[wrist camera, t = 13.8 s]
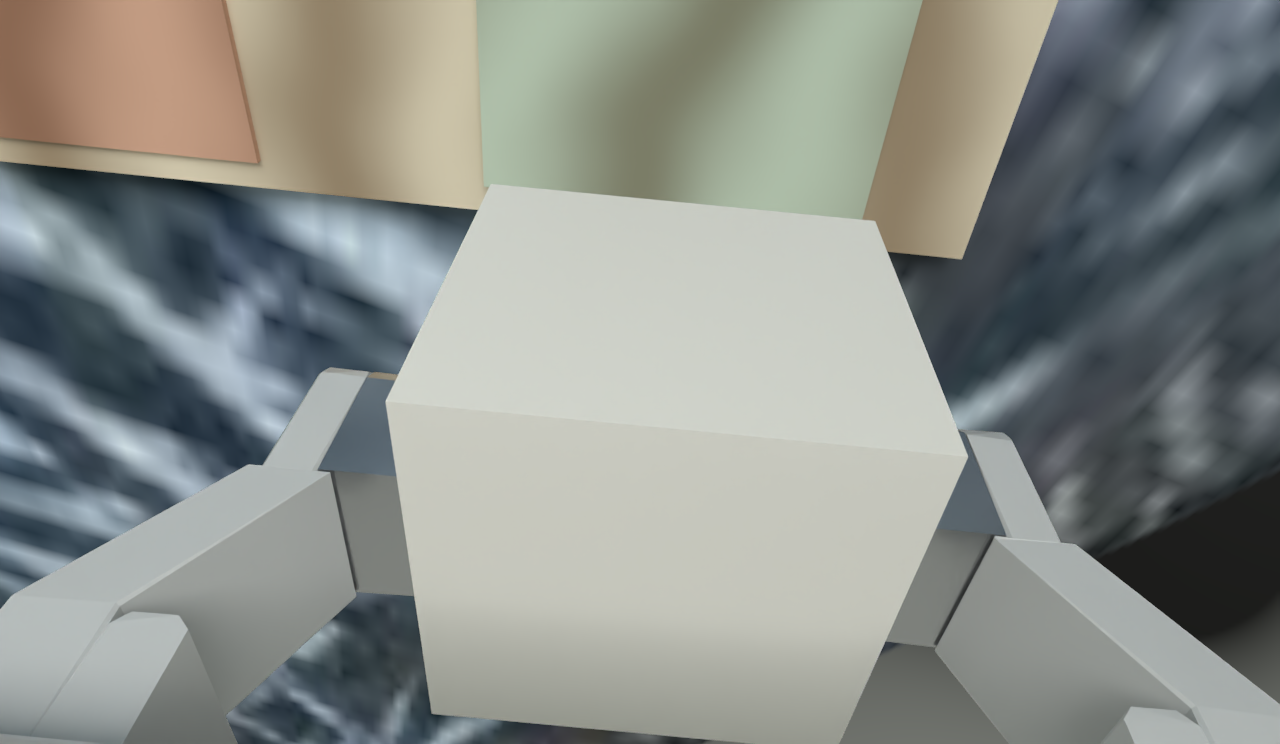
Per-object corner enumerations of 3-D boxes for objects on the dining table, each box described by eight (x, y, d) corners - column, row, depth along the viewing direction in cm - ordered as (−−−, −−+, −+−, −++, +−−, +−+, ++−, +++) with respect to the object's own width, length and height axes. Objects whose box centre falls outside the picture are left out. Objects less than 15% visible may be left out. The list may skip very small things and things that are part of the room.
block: (875, 220, 9) (968, 456, 6) (798, 491, 12) (835, 751, 9) (490, 183, 9) (384, 401, 6) (501, 463, 12) (432, 713, 9)
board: (1068, -80, 18) (1088, -71, 17) (952, 241, 23) (963, 262, 22) (-374, -227, 18) (-435, -226, 17) (-178, 126, 23) (-216, 142, 22)
